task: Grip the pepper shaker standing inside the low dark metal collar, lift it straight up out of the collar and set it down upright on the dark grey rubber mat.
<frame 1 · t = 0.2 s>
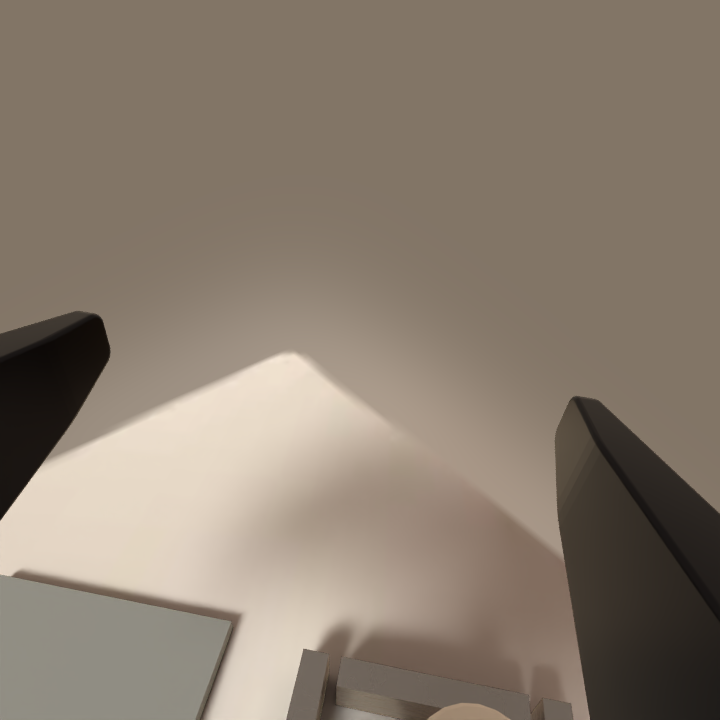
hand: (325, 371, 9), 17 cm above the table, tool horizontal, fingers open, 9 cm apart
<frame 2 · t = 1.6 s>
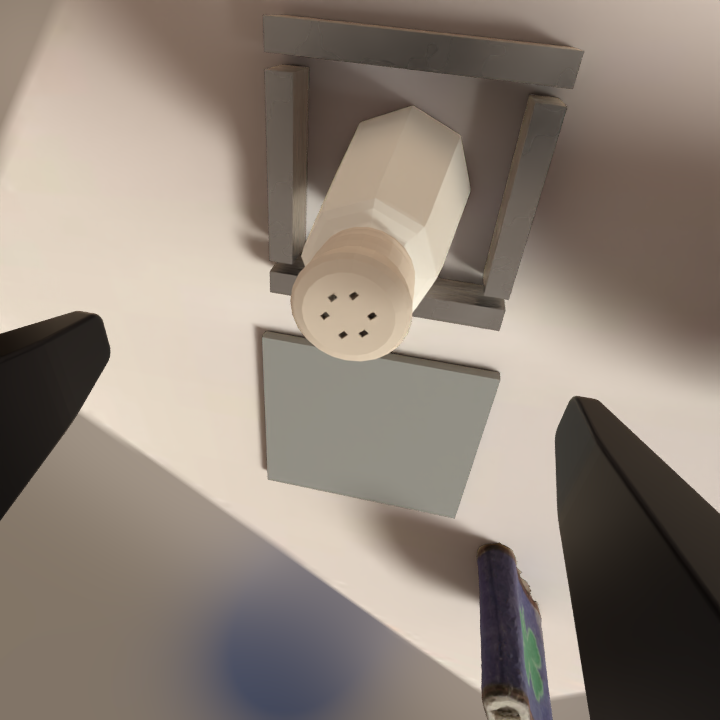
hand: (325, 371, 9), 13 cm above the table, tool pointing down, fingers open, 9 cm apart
holder: (403, 179, 20), on the table
mat: (369, 429, 28), on the table
flask: (507, 579, 34), on the table
pepper shaker: (403, 178, 20), resting in holder
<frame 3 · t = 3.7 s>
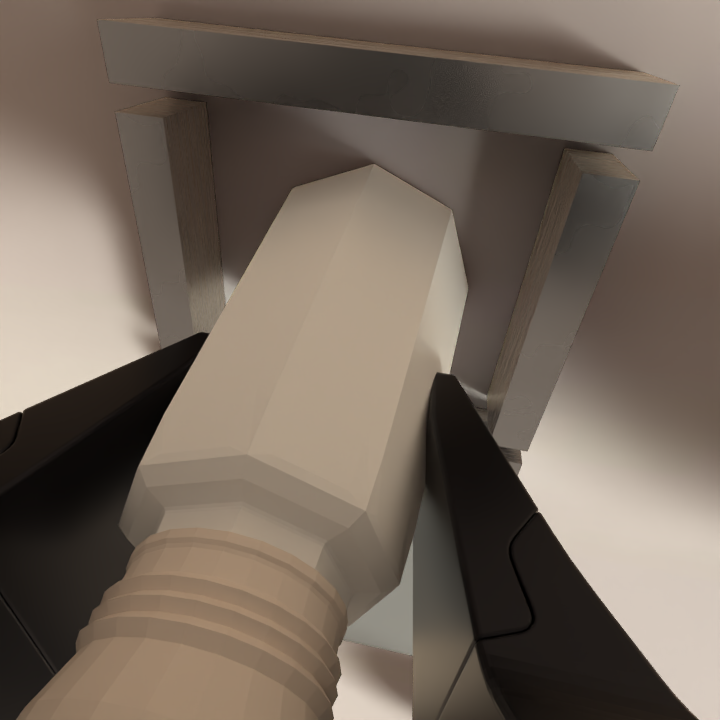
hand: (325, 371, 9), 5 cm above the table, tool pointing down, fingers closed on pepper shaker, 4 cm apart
holder: (365, 269, 13), on the table
mat: (336, 563, 21), on the table
pepper shaker: (366, 266, 13), resting in holder, touching gripper
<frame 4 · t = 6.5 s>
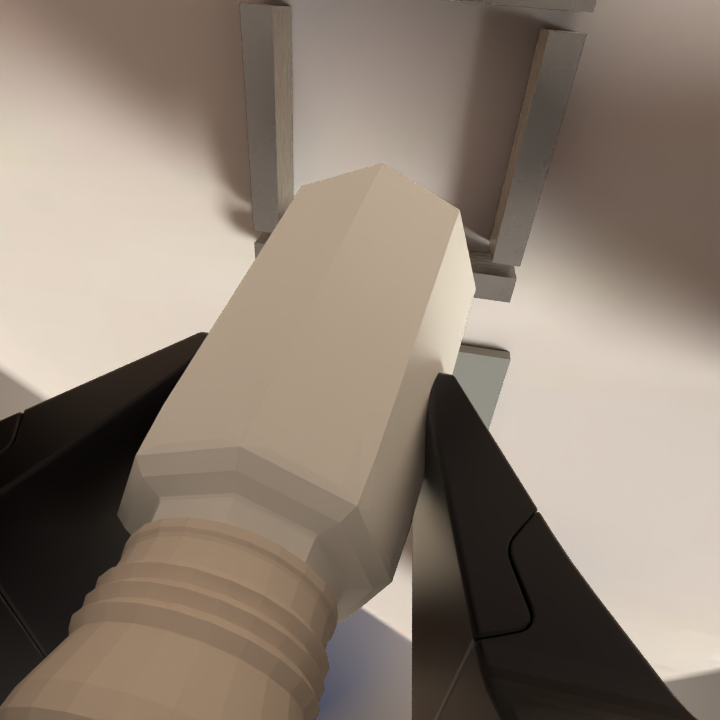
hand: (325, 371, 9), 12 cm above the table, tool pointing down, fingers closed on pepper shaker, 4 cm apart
holder: (399, 135, 18), on the table
mat: (369, 418, 26), on the table
pepper shaker: (374, 265, 13), point 7 cm above the table, touching gripper
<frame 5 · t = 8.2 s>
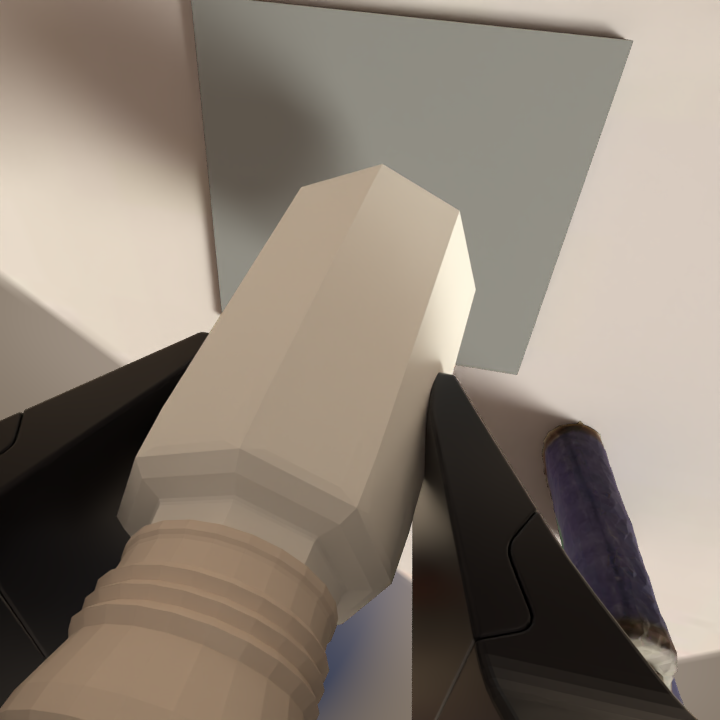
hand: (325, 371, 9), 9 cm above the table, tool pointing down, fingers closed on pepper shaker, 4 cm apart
mat: (383, 210, 17), on the table
flask: (584, 489, 23), on the table
pepper shaker: (373, 266, 13), point 5 cm above the table, touching gripper
when the fingers open (7 cm above the table, at t = 9.5 s): pepper shaker drops 1 cm, resting on mat.
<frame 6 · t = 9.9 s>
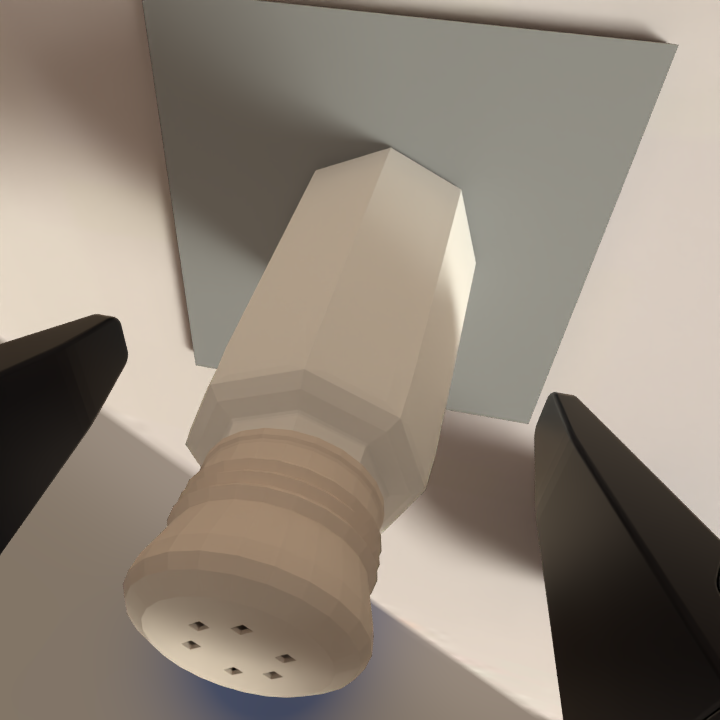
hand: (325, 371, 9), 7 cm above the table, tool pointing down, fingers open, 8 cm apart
mat: (374, 240, 15), on the table
pepper shaker: (381, 243, 14), resting on mat
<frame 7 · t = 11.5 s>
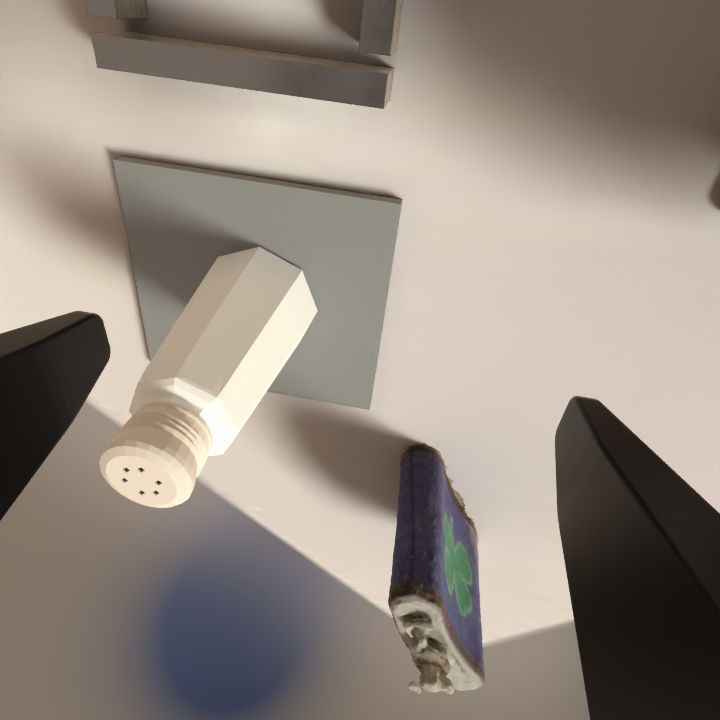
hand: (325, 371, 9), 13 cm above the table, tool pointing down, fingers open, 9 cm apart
mat: (260, 294, 23), on the table
flask: (438, 493, 30), on the table
pepper shaker: (263, 297, 23), resting on mat
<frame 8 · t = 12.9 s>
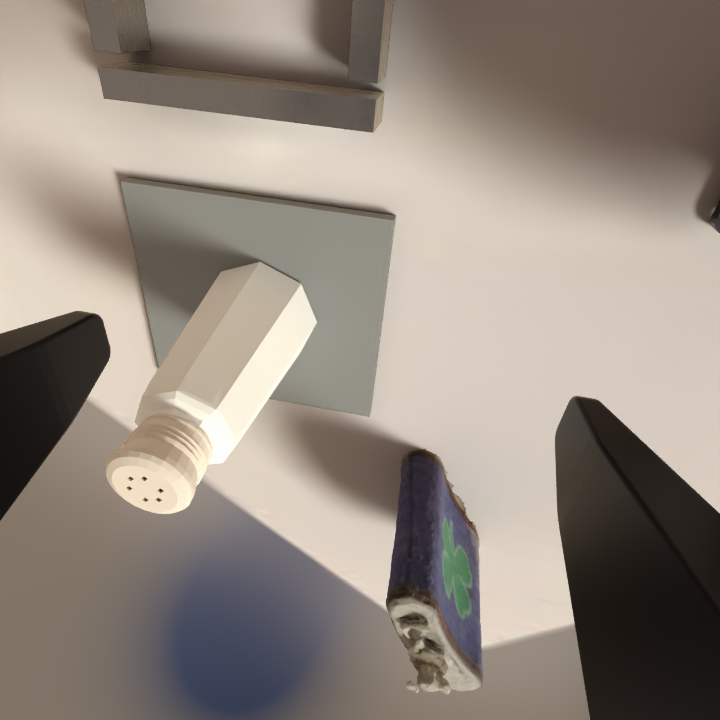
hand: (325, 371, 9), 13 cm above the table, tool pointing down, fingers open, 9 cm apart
mat: (263, 306, 24), on the table
flask: (440, 497, 31), on the table
pepper shaker: (265, 309, 24), resting on mat
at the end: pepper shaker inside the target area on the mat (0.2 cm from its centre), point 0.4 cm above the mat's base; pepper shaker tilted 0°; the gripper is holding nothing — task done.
